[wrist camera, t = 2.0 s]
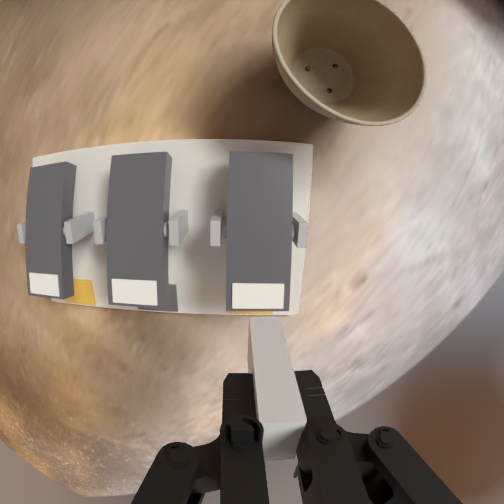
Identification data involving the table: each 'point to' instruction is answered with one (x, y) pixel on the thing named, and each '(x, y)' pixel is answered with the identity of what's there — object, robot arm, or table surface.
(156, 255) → the rocker
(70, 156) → the switch unit
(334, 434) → the robot arm
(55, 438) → the table surface
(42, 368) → the table surface
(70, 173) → the rocker
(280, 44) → the flower pot
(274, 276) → the rocker
